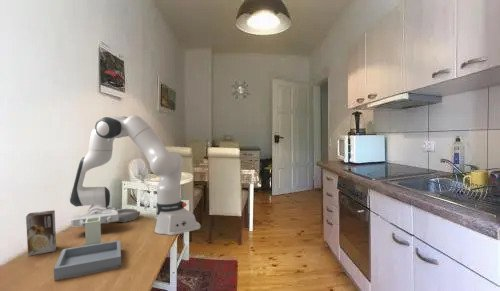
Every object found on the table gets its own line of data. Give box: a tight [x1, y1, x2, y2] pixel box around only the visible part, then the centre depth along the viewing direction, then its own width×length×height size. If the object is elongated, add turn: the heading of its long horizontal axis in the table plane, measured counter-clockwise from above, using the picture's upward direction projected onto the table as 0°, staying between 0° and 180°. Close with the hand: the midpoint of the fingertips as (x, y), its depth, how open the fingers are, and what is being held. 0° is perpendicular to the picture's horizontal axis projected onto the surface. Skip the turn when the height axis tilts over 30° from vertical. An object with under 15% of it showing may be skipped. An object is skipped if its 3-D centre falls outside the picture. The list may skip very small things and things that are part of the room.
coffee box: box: [25, 209, 57, 256], centre depth 116 cm, size 9×6×16 cm
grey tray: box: [53, 239, 122, 281], centre depth 104 cm, size 20×18×4 cm
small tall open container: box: [84, 217, 102, 246], centre depth 119 cm, size 5×7×12 cm
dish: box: [114, 208, 141, 223], centre depth 161 cm, size 14×14×5 cm
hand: (95, 223), depth 130 cm, fingers open, 8 cm apart
